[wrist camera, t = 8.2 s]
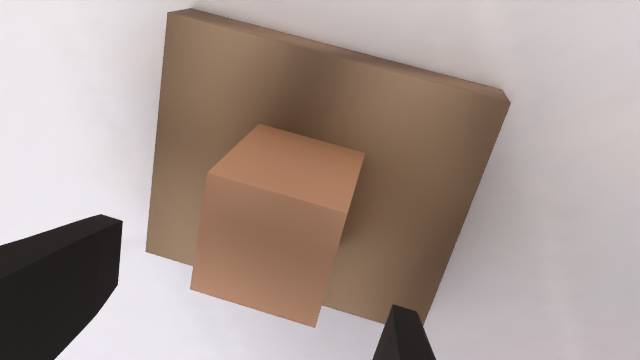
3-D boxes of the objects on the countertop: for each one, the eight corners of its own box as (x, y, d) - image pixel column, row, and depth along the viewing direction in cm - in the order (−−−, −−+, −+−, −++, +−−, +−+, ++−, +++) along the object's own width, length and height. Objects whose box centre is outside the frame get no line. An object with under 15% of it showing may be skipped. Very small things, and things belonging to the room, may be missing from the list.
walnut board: (500, 86, 19) (510, 102, 17) (419, 298, 23) (419, 334, 21) (196, 7, 20) (167, 12, 18) (171, 224, 24) (145, 251, 22)
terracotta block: (365, 152, 18) (347, 213, 14) (338, 246, 20) (315, 327, 15) (259, 123, 19) (207, 172, 14) (241, 217, 20) (190, 289, 16)
